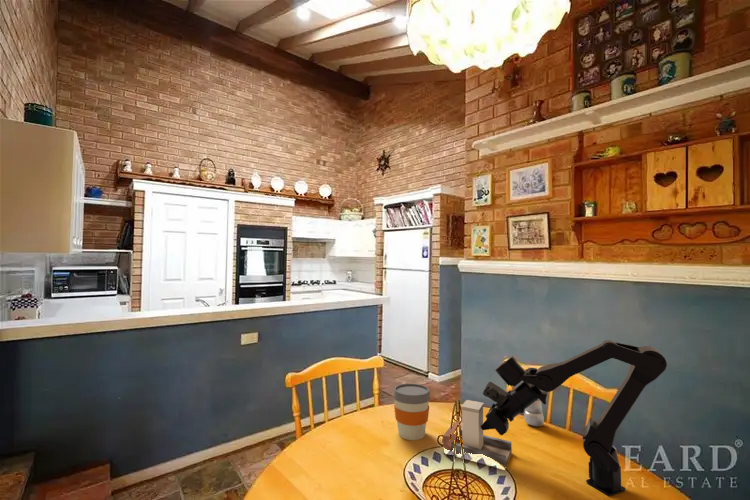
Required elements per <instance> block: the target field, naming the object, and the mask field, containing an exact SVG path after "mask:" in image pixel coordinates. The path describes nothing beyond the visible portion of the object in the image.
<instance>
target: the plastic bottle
mask: <svg viewBox="0 0 750 500" xmlns="http://www.w3.org/2000/svg"><path fill="white" fill-rule="evenodd" d="M527 369H538V368H537V367H528V368H527ZM541 391H542V390H541ZM542 404H543V403H542V402H541V401H540V399H538V400H537V401H535V402H534V403H533V404H531V405H530V406H529V407H527V408H526V409H525V411H524V412H523V413H524V414H523V417H524V421H525V423H526V424H527V425H530V426H532V427H542V426H543V424H544V420H545V418H544V413H543V406H542Z"/></svg>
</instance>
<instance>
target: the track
mask: <svg viewBox="0 0 750 500" xmlns="http://www.w3.org/2000/svg"><path fill="white" fill-rule="evenodd" d="M457 423H458V422H457V421H454V422H453V423H452V424H453V426H452V429H451V425H450V426H449V427H448V429H447V430H446V431H445V432H444V434H442V448H443V447H444V448H445V449H447V450H450V451H452V450H453V448H454V440H455V434H454V431H455V429H456V426H457ZM459 432H460V435H461V436H462V423H461V424H460V427H459ZM451 433H453V434H452V436H451V440H450V441H449V439H450V434H451ZM457 435H458V432H457ZM463 449H464V453H465V452H466V453H470V454H471V453H472V454H483V455H485V456H487V457H490V458H492V459H494V460H495V461H497V462H499V463H500V464H502V465H503V466H504V467H506V468H507V467H508V464H509V462H510V459H511V456H512V453H513V452H512V451H513V449H512V441H510V440H508V439H507V440H506V439H502V438H497V437H493V436H489V435H484V434H483V446H482V448H481V449H477V448H473V447H470V446H466V445H463ZM459 453H460V454H461V444H460V440H459V437H458V439H457V443H456V454H459Z"/></svg>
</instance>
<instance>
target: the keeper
mask: <svg viewBox="0 0 750 500" xmlns="http://www.w3.org/2000/svg"><path fill="white" fill-rule="evenodd" d="M484 406H485V403H484V402H480V401H475V400H469V399H466V400H465V401H464V402H463V404H462V405H461V406H460V409H461V430H462V440H463V445H466V446H470V447H473V448H477V449H481V448H482V446H483V435H484V430H482V429H481V426H482V424H483V423H484Z"/></svg>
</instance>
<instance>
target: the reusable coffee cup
mask: <svg viewBox="0 0 750 500" xmlns="http://www.w3.org/2000/svg"><path fill="white" fill-rule="evenodd" d="M430 392H431V391H430V389H429V387H427V386H425V385H423V384H418V383H402V384H398V385H396V386H395V387H394V389H393V399H394V405H393V406H394V408H393V409H394V415H395V420H396V423H397V431H398V432H397V433H398V435H399V437H400V438H402V439H405V440H408V441H418V440H422V439H424V437H425V435H426V428H427V427H426V426H427V422H428V420H429V414H430V405H429V404H430V403H429V402H430V400H431V394H430Z"/></svg>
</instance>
